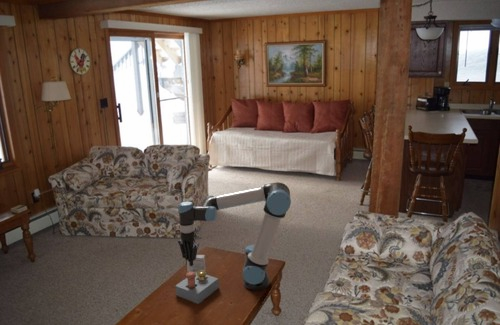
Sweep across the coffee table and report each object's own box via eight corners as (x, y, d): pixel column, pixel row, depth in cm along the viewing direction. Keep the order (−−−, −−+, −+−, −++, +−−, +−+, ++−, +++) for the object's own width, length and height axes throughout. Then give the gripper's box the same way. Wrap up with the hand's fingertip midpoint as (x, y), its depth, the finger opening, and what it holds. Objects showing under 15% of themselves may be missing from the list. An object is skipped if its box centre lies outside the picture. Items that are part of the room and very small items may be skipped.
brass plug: (209, 285, 235) (208, 271, 232) (203, 289, 230) (202, 275, 228) (202, 282, 238) (201, 269, 235) (195, 287, 233) (194, 273, 231)
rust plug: (198, 287, 227) (197, 273, 224) (192, 292, 222) (191, 277, 220) (191, 284, 230) (190, 270, 227) (184, 289, 225) (183, 275, 223)
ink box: (206, 271, 251) (205, 254, 248) (204, 276, 246) (203, 258, 243) (192, 271, 252) (191, 254, 249) (190, 275, 247) (189, 258, 244)
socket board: (218, 287, 234) (218, 278, 232) (198, 304, 219) (197, 294, 218) (197, 280, 242) (196, 271, 241) (176, 295, 228) (175, 285, 226)
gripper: (201, 230, 216) (203, 270, 223) (183, 225, 223) (185, 264, 230) (192, 235, 210) (194, 276, 217) (173, 230, 217) (176, 270, 223)
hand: (190, 270), depth 223 cm, fingers closed
